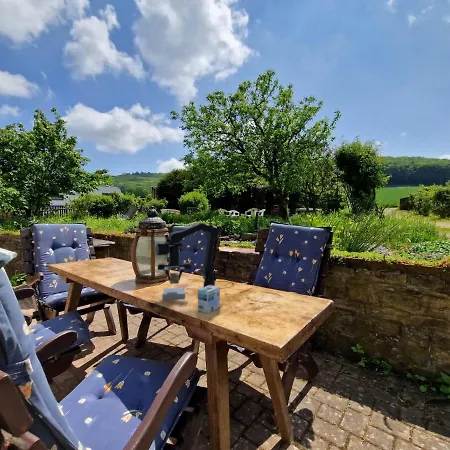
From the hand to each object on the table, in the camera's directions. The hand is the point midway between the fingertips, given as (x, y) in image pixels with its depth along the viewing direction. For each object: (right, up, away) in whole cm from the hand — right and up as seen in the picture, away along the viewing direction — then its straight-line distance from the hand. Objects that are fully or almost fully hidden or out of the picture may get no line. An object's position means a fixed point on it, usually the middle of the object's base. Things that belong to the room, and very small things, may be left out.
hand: (174, 280), depth 152 cm
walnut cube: (0, -1, 0) cm, 1 cm away
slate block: (0, -9, 0) cm, 9 cm away
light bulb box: (+22, -10, -21) cm, 31 cm away
